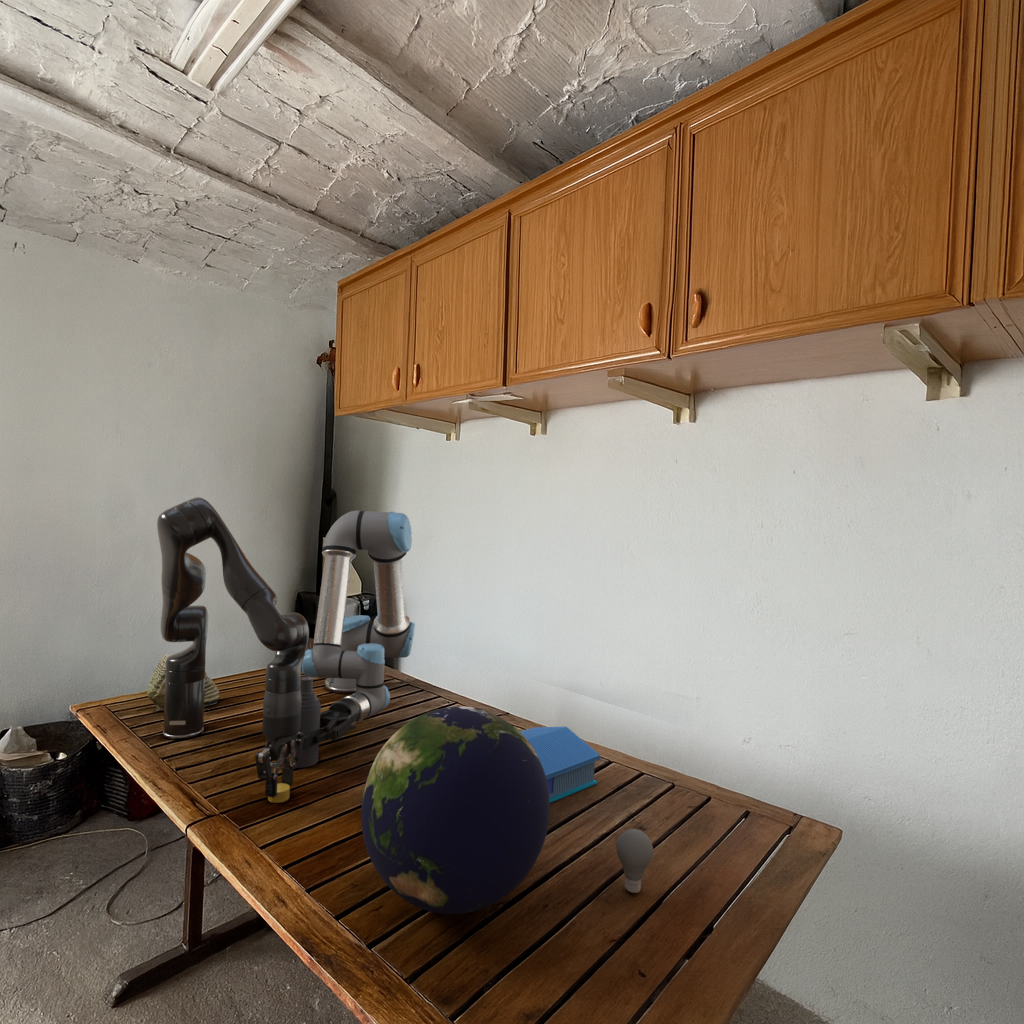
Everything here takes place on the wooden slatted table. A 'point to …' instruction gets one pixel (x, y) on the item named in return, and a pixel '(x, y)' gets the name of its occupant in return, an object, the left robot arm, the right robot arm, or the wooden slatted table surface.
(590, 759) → the model building
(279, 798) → the cap
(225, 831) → the wooden slatted table surface
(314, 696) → the bottle
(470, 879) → the globe
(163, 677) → the fossil
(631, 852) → the light bulb
